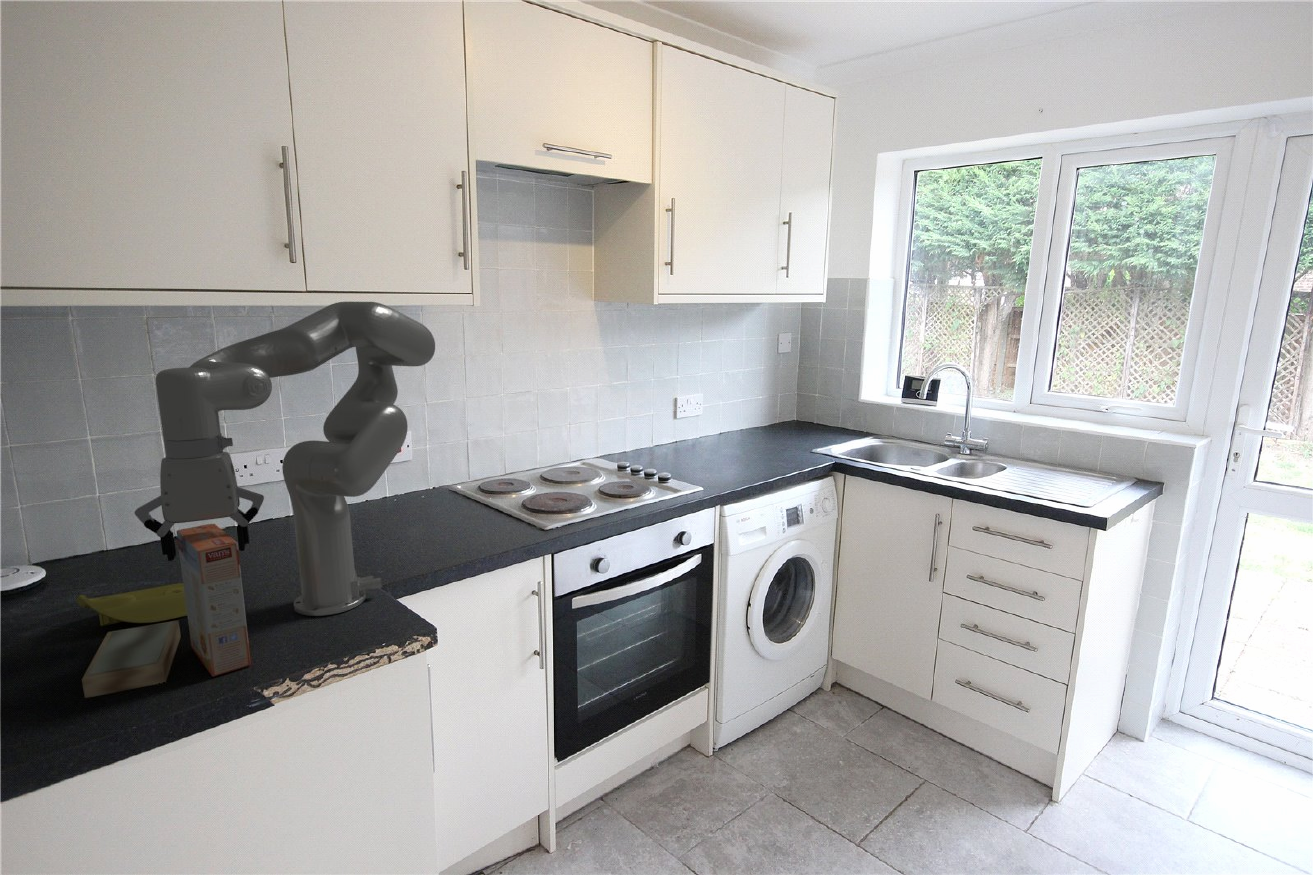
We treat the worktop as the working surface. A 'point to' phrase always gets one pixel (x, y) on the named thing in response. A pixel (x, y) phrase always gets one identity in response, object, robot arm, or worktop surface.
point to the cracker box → (214, 598)
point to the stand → (132, 659)
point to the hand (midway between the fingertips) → (208, 553)
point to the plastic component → (139, 605)
